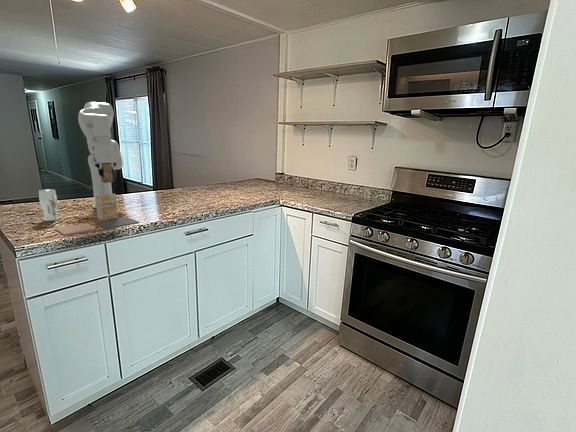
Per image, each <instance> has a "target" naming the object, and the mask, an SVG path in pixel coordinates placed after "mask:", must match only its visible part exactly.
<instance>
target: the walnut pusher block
mask: <svg viewBox="0 0 576 432" xmlns="http://www.w3.org/2000/svg"><path fill="white" fill-rule="evenodd" d="M102 169H103V173H104V177H101V181H102V182H104V183H109V182H111V183H114V179H113V176H114V175H113V176H112V165H111V163H102Z"/></svg>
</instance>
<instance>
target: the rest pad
mask: <svg viewBox="0 0 576 432" xmlns="http://www.w3.org/2000/svg"><path fill="white" fill-rule="evenodd" d="M55 231H57V232H58V233H59V234H61V235H63V236H64V237H65V236H71V235H77V234H78V235H79V234H82V233H88V232H93V231H96V228H95V227H93V226H91V225H89V224H87V223H79V224H73V225H67V226H66V225H65V226H60V227H55Z"/></svg>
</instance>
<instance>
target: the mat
mask: <svg viewBox="0 0 576 432" xmlns="http://www.w3.org/2000/svg"><path fill="white" fill-rule="evenodd" d="M94 224H95V225H97V226H99V227H100V228H103V229H105V230H107V229H113V228H118V227H122V226H123V227H124V226H129V225H133V224H140V221H138V220H135V219H133V218H130V217H129V216H124V217H119V218H115V219H110V220H106V221H101V220H100V221H95V222H94Z"/></svg>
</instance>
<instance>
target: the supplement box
mask: <svg viewBox="0 0 576 432" xmlns="http://www.w3.org/2000/svg"><path fill="white" fill-rule="evenodd" d="M95 198H96V207H97V208H96V215H97V216H96V217H97V220H99V221H100V222H101V221H107V220H113V219H119V218H118V216H119V215H118V214H119V213H118V205H117V204H118V203H117V194H116V193H113V192H112V193H109V194H101V195H95Z"/></svg>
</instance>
